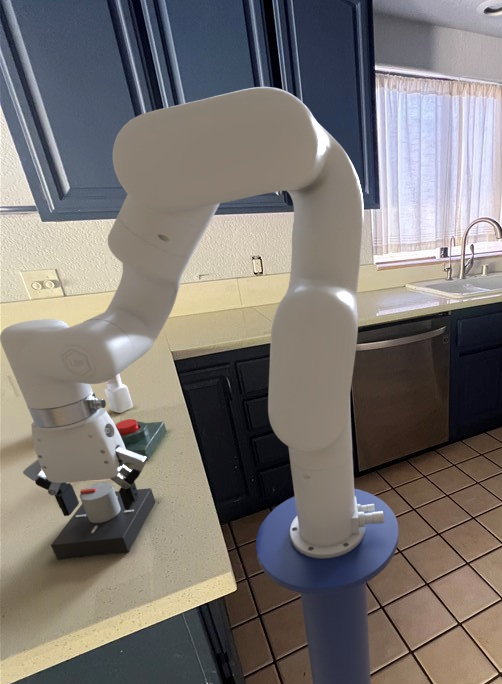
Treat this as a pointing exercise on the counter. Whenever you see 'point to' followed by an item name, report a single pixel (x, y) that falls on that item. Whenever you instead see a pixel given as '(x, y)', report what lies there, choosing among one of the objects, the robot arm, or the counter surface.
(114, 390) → the small white square bottle
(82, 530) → the panel
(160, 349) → the counter surface
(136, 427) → the button
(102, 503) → the hob knob
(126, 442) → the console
